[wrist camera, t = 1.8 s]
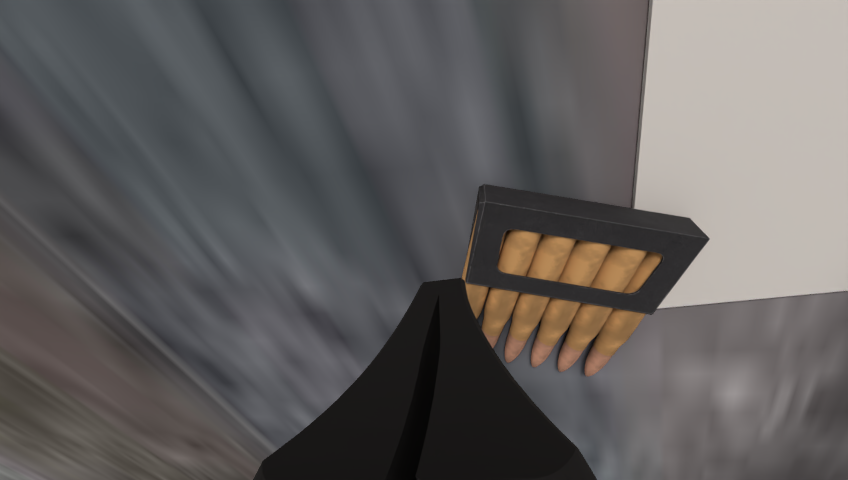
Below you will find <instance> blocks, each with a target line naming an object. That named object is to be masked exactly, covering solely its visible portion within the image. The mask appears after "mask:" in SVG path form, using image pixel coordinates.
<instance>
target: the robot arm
mask: <svg viewBox="0 0 848 480" xmlns="http://www.w3.org/2000/svg"><path fill="white" fill-rule="evenodd" d="M253 480H597V479H596V477H595V476H594V474H593V472H592V470H591V469H590V467H589V465H588V464H587V462H586V460H585V459H584V457H583V456H582V454H581V452H580V451H579V449H578V448H577V447H576V446H575V445H574V444H573V443H572V442H571V441H570V440H569V439H568V438H567V437H566V436H565V435H564V434H563V433H562V432H561V431H560V430H559V429H558V428H557V427H556V426H555V425H554V424H553V423H552V422H551V421H550V420H549V419H548V418H547V417H546V416H545V415H544V413H543V412H542V411H541V410H540V409H539V408H538V407H537V406H536V405H535V404H534V402H533V401H532V400H531V399H530V398H529V396H528V395H527V394H526V393H525V392H524V390H523V389H522V388H521V387H520V386H519V384H518V383H517V382H516V381H515V380H514V378H513V377H512V376H511V374H510V373H509V371H508V370H507V369H506V367H505V366H504V365H503V363H502V362H501V360H500V359H499V357H498V356H497V354H496V353H495V351H494V350H493V348H492V346H491V345H490V343H489V341H488V340H487V338H486V336H485V334H484V333H483V331H482V329H481V327H480V325H479V323H478V321H477V319H476V317H475V315H474V313H473V310H472V308H471V306H470V303H469V300H468V296H467V290H466V285H465V281H464V280H463V279H461V278H457V279H448V280H440V281H432V282H423V284H422V285H421V286H420V288H419V290H418V292H417V294H416V296H415V298H414V299H413V301H412V303H411V305H410V306H409V308H408V310H407V312H406V313H405V315H404V317H403V318H402V320H401V321H400V323H399V325H398V326H397V328H396V329H395V331H394V332H393V334H392V335H391V337H390V338H389V340H388V341H387V342H386V344H385V345H384V347H383V348H382V349H381V351H380V352H379V353H378V355H377V356H376V357H375V359H374V360H373V361H372V362H371V364H370V365H369V366H368V367H367V368H366V370H365V371H364V372H363V373H362V374H361V375H360V377H359V378H358V379H357V380H356V381H355V382H354V383H353V384H352V385H351V386H350V387H349V388H348V389H347V390H346V391H345V392H344V393H343V394H342V395H341V396H340V398H339V399H338V400H337V401H335V402H334V403H333V404H332V405H331V406H330V407H329V408H328V409H327V410H326V411H325V412H324V413H322V414H321V415H320V416H319V417H318V418H317V419H316V420H314V421H313V422H312V423H311V424H310V425H309V426H307V427H306V428H305V429H304V430H303V431H301V432H300V433H299V434H298V435H296V436H295V437H294V438H292V439H291V440H290V441H288V442H287V443H286V444H285V445H283V446H282V447H281V448H279V449H278V450H277V451H275V452H274V453H273V454H272V455H270V456H269V457H267V458H266V459H265V460H263V462H262V464H261V466H260V468H259V469H258V471H257V473H256V475H255V477H254V479H253Z"/></svg>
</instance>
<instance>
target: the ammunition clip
mask: <svg viewBox="0 0 848 480" xmlns="http://www.w3.org/2000/svg"><path fill="white" fill-rule="evenodd" d="M507 230H508V231H507ZM506 232H507V234H506ZM505 236H506V237H505ZM504 239H505V241H504ZM709 240H710V238H709V237H708V236H707V235H706V234H705V233H704V232H703V231H702V230H701V229H700V228H699V227H698V226H697V225H696V224H695V223H694V222H693V221H692V220H691V219H690V218H688V217H681V216H675V215H669V214H663V213H657V212H651V211H645V210H639V209H633V208H626V207H620V206H614V205H608V204H602V203H596V202H590V201H584V200H578V199H572V198H565V197H559V196H553V195H547V194H541V193H535V192H529V191H523V190H517V189H510V188H504V187H498V186H492V185H486V184H484V185H482V186H480V187H479V191H478V196H477V202H476V208H475V213H474V219H473V224H472V230H471V236H470V241H469V247H468V252H467V258H466V262H465V266H464V270H463V275H462V279H463V280H464V281H465V285H466V290H467V296H468V300H469V303H470V306H471V308H472V310H473V313H474V315H475V317H476V319H477V318H478V317H479V315H480V313H481V311H482V309H483V305H484V302H485V299H486V296H487V293H488V290H489V287H490V290H489V294H488V297H487V300H486V304H485V308H484V319H483V323H482V328H481V329H482V331H483V333H484V334H485V336H486V338H487V340H488V341H489V343H490V345H491V346H492V348H494V346H495V344H496V343H497V341H498V338H499V336H500V334H501V332H502V330H503V327H504V325H505V324H506V322H507V321H508V320H509V318H510V316H511V314H512V312H513V317H512V323H511V326H510V330H509V333H508V336H507V340H506V345H505V360H506V362H507V363H509V362H511V361H513V360H514V359H515V358H516V357H517V356H518V355H519V354H520V352H521V351H522V349H523V347H524V346H525V344H526V342H527V340H528V338H529V337H530V335H531V333H532V331H533V330H534V328H535V327H536V326H537V325H538V323H539V321H540V320H541V323H540V327H539V330H538V332H537V336H536V339H535V341H534V344H533V347H532V352H531V364H532V366H533V367H537V366H538V365H540V364H541V363H542V362H543V361H544V360H545V359H546V358H547V357H548V356H549V354H550V353H551V351H552V349H553V348H554V346H555V344H556V343H557V342H558V340H559V338H560V337H561V336H562V334H563V333H564V332H565V331H566V330H567V329H568V327H569V325H570V327H569V331H568V333H567V336H566V338H565V341H564V343H563V345H562V347H561V350H560V353H559V357H558V370H559V371H560V372H562V371H565V370H567V369H568V368H569V367H571V366H572V365H573V364H574V363H575V362H576V360H577V359H578V358H579V357H580V355H581V354H582V352H583V350H584V349H585V348H586V347H587V345H588V344H589V342H590V341H591V340H592V339H593V338H594V337H595V336H596V335H597V334H598V335H597V337H596V339H595V341H594V344H593V346H592V348H591V349H590V352H589V354H588V356H587V359H586V363H585V370H584V371H585V375H586V376H591V375H593V374H595V373H596V372H598V371H599V370H600V369H601V368H603V366H604V365H605V364H606V363H607V362H608V361H609V359H610V358H611V357H612V355H613V354H614V353H615V352H616V351H617V349H618V348H619V347H620V346H621V345H622V344H623V343H625V342H626V341H627V340H628V339H629V337H630V336H631V334H632V333H633V332H634V330H635V329H636V327H637V326H638V324H639V323H640V321H641V320H642V319H643V317H644V316H645V314H650V315H652V314H653V313H654V312H655V310H656V309H657V308H658V307H659V305H660V304H661V303H662V301H663V300H664V299H665V297H666V296H667V295H668V293H669V292H670V291H671V289H672V288H673V287H674V286H675V284H676V283H677V282H678V280H679V279H680V278H681V276H682V275H683V274H684V272H685V271H686V270H687V268H688V267H689V266H690V264H691V263H692V262H693V261H694V259H695V258H696V257H697V255H698V254H699V253H700V251H701V250H702V249H703V247H704V246H705V245H706V244H707V242H708V241H709ZM503 242H504V244H503ZM502 245H503V247H502ZM501 248H502V251H501ZM500 252H501V253H500ZM519 293H520V294H519ZM516 301H517V302H516ZM514 306H515V307H514ZM513 309H514V310H513Z"/></svg>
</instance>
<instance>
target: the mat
mask: <svg viewBox="0 0 848 480" xmlns="http://www.w3.org/2000/svg"><path fill="white" fill-rule="evenodd" d="M632 208H633V209H639V210H645V211H651V212H657V213H663V214H669V215H675V216H681V217H688V218H690V219H691V220H692V221H693V222H694V223H695V224H696V225H697V226H698V227H699V228H700V229H701V230H702V231H703V232H704V233H705V234H706V235H707V236H708V237H709V238H710V240H709V241H708V242H707V244H706V245H705V246H704V247H703V249H702V250H701V251H700V253H699V254H698V255H697V257H696V258H695V259H694V261H693V262H692V263H691V264H690V266H689V267H688V268H687V270H686V271H685V272H684V274H683V275H682V276H681V278H680V279H679V280H678V282H677V283H676V284H675V286H674V287H673V288H672V289H671V291H670V292H669V293H668V295H667V296H666V297H665V299H664V300H663V301H662V303H661V304H660V305H659V307H658V308H669V307H679V306H690V305H700V304H711V303H722V302H732V301H743V300H753V299H764V298H774V297H785V296H796V295H806V294H817V293H827V292H838V291H848V0H649V12H648V24H647V35H646V47H645V59H644V70H643V82H642V94H641V106H640V117H639V129H638V141H637V152H636V164H635V176H634V187H633V199H632ZM658 308H657V309H658Z"/></svg>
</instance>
